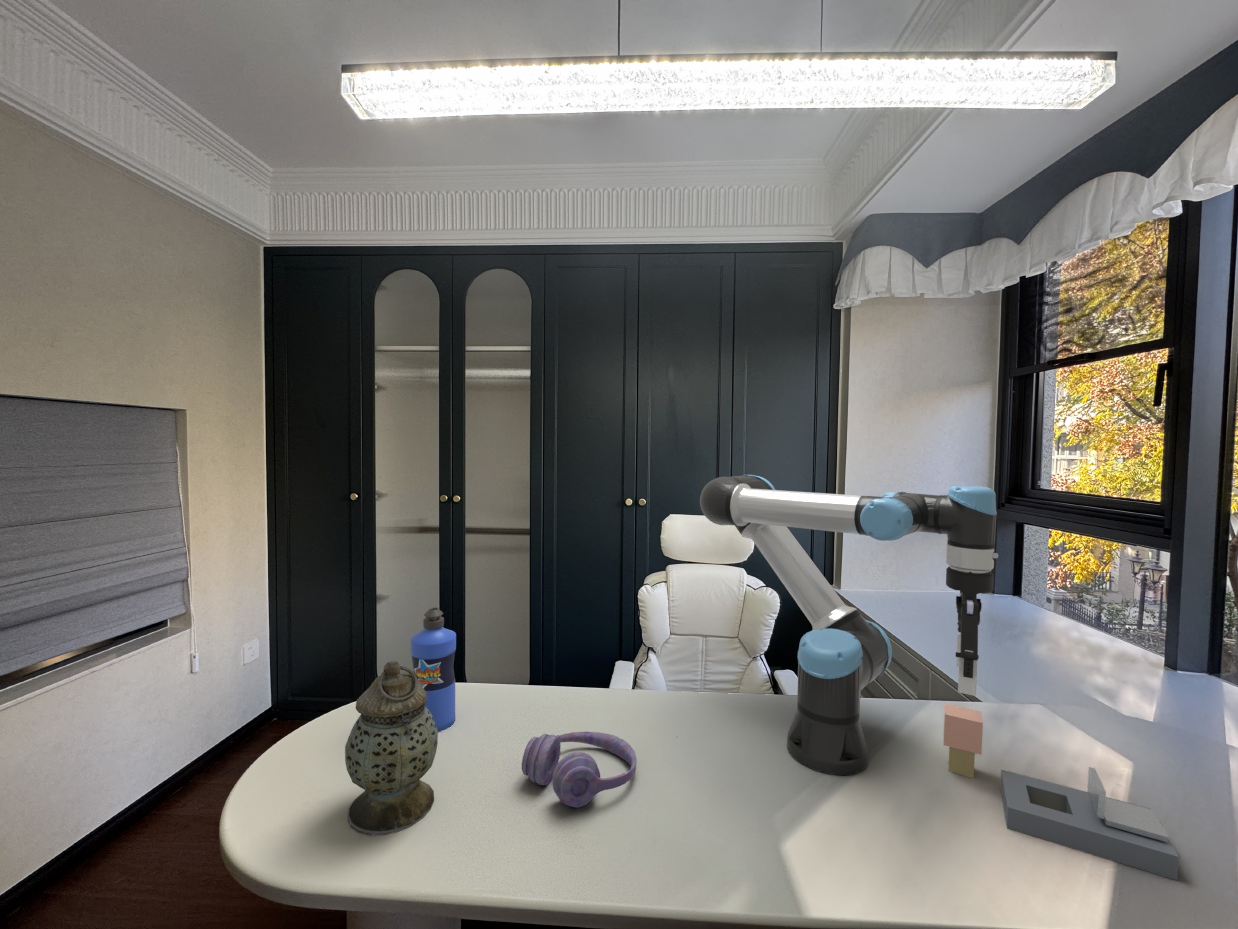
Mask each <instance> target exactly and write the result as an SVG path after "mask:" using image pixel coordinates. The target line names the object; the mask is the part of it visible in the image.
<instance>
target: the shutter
mask: <svg viewBox="0 0 1238 929" xmlns="http://www.w3.org/2000/svg"><path fill="white" fill-rule="evenodd" d="M1087 775H1088V776H1087V791H1086V792H1087V793H1088V796H1089V798H1090V800H1091V803H1092V805H1093V808H1094V810H1095V813H1096V815H1097V817H1098V818H1101V819H1103V820H1104V822H1105V824H1106V825H1108V826H1111V827H1115V828H1118V829H1122V830H1126V831H1129V832H1133V833H1136V834H1140V835H1143V836H1147V837H1150V838H1154V839H1157V840H1161V841H1164V842H1168V839H1169V835H1168V834H1167V832H1166V831H1165V829H1164V827H1163V825H1162V824H1161V822H1160V820H1159V818H1158V816H1157V815H1156V813H1155V811H1154V810H1153V809H1152V808H1150V809H1147V808H1148V807H1146V808H1143V807H1144V806H1143V807H1139V806H1140V805H1139V806H1136V805H1137V804H1135V805H1132V804H1133V803H1131V804H1128V803H1129V802H1127V803H1124V802H1125V801H1124V802H1120V801H1121V800H1120V801H1117V800H1118V799H1116V800H1113V799H1114V798H1112V799H1109V798H1110V797H1108V798H1106V797H1107V796H1106V794H1107V791H1106V789H1105V787H1104V785H1103V782H1102V780H1101V778H1100V776H1099V774H1098V771H1097V769H1096V768H1094V767H1090V766H1088V774H1087ZM1151 809H1152V810H1151Z"/></svg>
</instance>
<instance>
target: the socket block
mask: <svg viewBox="0 0 1238 929" xmlns="http://www.w3.org/2000/svg"><path fill="white" fill-rule="evenodd" d="M999 788H1000V793H1001V794H1000V795H1001V801H1002V808H1003V813H1004V819H1005V826H1006V829H1009V830H1011V831H1014V832H1018V833H1021V834H1025V835H1028V836H1031V837H1035V838H1038V839H1042V840H1044V841H1048V842H1051V843H1055V844H1057V845H1060V846H1064V847H1067V848H1071V849H1072V850H1073V849H1074V850H1077V851H1080V852H1084V853H1085V854H1086V853H1087V854H1090V855H1093V856H1097V857H1100V858H1103V859H1107V860H1110V861H1113V862H1116V863H1120V864H1123V865H1126V866H1129V867H1133V868H1134V869H1135V868H1136V869H1139V870H1142V871H1146V872H1149V873H1152V874H1154V875H1159V876H1160V877H1161V876H1162V877H1165V878H1168V879H1172V880H1175V881H1178V873H1179V862H1180V861H1179V858H1180V856H1179V855H1178V853H1177V851H1176V849H1175V847H1174V846H1173V844H1172V842H1171V840H1170V839H1169V838H1168V842H1164V841H1161V840H1157V839H1154V838H1150V837H1147V836H1143V835H1140V834H1136V833H1133V832H1129V831H1126V830H1122V829H1118V828H1115V827H1111V826H1108V825H1106V824H1105V822H1104V820H1103V819H1101V818H1098V817H1097V815H1096V813H1095V810H1094V808H1093V805H1092V803H1091V800H1090V798H1089V796H1088V793H1087V791H1085V790H1081V789H1078V788H1074V787H1069V786H1066V785H1062V784H1059V783H1056V782H1055V783H1054V782H1052V781H1051V782H1050V781H1047V780H1044V779H1043V780H1042V779H1040V778H1036V777H1031V776H1028V775H1024V774H1020V773H1017V772H1013V771H1009V770H1005V769H1000V787H999ZM1106 798H1109V799H1113V800H1117V801H1120V802H1124V803H1128V804H1132V805H1136V806H1139V807H1143V808H1147V809H1151V810H1153V809H1152V808H1150V807H1146V806H1142V805H1137V804H1134V803H1131V802H1127V801H1123V800H1119V799H1116V798H1112V797H1108V796H1106Z"/></svg>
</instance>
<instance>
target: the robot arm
mask: <svg viewBox="0 0 1238 929" xmlns="http://www.w3.org/2000/svg"><path fill="white" fill-rule="evenodd" d="M996 499H997V494H996V492H995V490H993V489H992V488H990V487H986V486H975V485H953V486H951V487H949V491H948V492H947V494H943V495H942V494H941V495H938V494H926V493H914V492H911V493H910V492H905V491H895V492H894V491H893V492H892V491H889V492H885V493H884V494H883V496H873V495H859V494H858V495H854V494H844V493H843V494H842V493H841V494H839V493H827V492H826V493H824V492H813V491H812V492H811V491H810V492H808V491H797V490H796V491H794V490H781V489H779V490H778V489H775V486H774V484H772V483H771V482H770V481H769V480H768V479H766V478H765V477H762V476H759V475H754V474H743V475H737V476H720V477H716V478H714V479H712V480H710V481H709V482H708V483H707V484H705V486H703V489H702V491H701V493H700V498H699V506H700V510H701V511H702V514H703V515H704V516H705V518H706V519H707V520H708V521H709V522H712V523H713V524H716V525H718V526H734V527H735V528H736V529H737V531H738V532H739V534H740V535H741V536H742V537H743V538H746V539H750V540H752V541H753V543H754V545H755V546H756V547H757V549H758V551H759V552H760V553H761V555H762V556H763V557H764V559H765V560H766V562H767V563H768V564H769V566H770V568H772V570H773V572H774V574H775V575H776V576H777V578H778V579H779V580H780V582H781V583H782V584H783V586H784V587H785V588H786V590H787V591H788V593H789V594H790V595H791V598H793V600H794V601H795V603H796V604H797V606H798V607H799V609H800V610H801V611H802V613H803V614H804V616H805V617H806V618H807V620H808V621H809V623H810V624H811V627H812V630H810V631H808V632H806V633H805V634H803V636H802V637H801V638H800V641H799V646H798V650H797V664H798V666H797V702H796V703H797V704H796V711H795V714H794V716H793V718H792V721H791V724H790V726H789V729H788V731H787V737H786V738H787V739H786V740H787V741H786V748H787V750H788V752H789V754H790V755H791V756H792V757H793V759H794V760H796V761H798V762H799V763H800V764H802V765H804V766H805V767H807V768H810V769H812V770H814V771H817V772H821V773H823V774H824V773H825V774H830V775H839V776H840V775H841V776H848V775H854V774H857V773H861V772H862V771H864V770H865V769H866V767H867V766H868V762H869V750H868V749H869V748H868V745H867V742H866V739H865V738H866V737H865V735H864V732H863V728H862V724H861V721H860V712H861V710H860V709H861V692H862V690H863V689H865V687H867V686H868V685H869V684H870V683H872V682H873V681H875V680H876V679H878V678H880V677H881V676H883V674H884V673H885V672H886V670H887V669H888V667H889V666H890V664H891V662H892V657H893V648H892V643H891V641H890V638H889V636H888V635H887V633H886V632H885V631H884V630H883V629H882V628H881V627H880V626H879V625H878V624H877V623H875V622H872V621H869V620H868V619H865V618H864V616H863V615H862V614H861V613H860V611H859V610H858V609H857V608H856V607H852V606H848V605H846V604H845V603H844V601H843V600H842V599H841V597H840V596H839V595H838V593H837V592H836V591H835V589H834V588H833V587H832V585H831V584H830V583H829V581H828V580H827V579H826V577H825V576H824V574H822V572H821V570H820V569H819V568H818V567H817V566H816V564H815V563H814V562H813V560H812V559H811V557H810V556H809V555H808V553H807V552H806V550H805V549H804V548H803V547H802V546H801V544H800V543H799V542H798V540H797V539H796V537H795V536H794V535H793V534H792V532H791V530H790V529H789V528H797V529H807V530H816V531H817V530H818V531H825V532H833V533H835V532H836V533H842V534H843V533H844V534H853V535H854V534H855V535H860V536H868V537H871V538H872V539H874V540H877V541H881V542H882V541H883V542H884V541H890V542H891V541H897V540H899V539H901V538H903V537H905V536H907V535H910V534H913V533H916V532H918V533H919V532H922V533H929V534H930V533H931V534H939V535H946V537H947V541H946V542H947V543H946V560H945V562H946V564H947V565H948V567H947V568H946V570H945V571H946V572H945V573H946V574H945V585H946V587H948V588H949V589H951V590H954V591H959V595H956V596H955V605H956V606H955V608H956V613H957V624H956V625H957V632H958V633H957V640H956V641H957V642H956V643H957V644H956V645H957V646H956V652H955V658H956V667H958V680H957V682H958V684H957V693H960V694H965V695H969V696H974V697H976V696H977V678H978V660H979V654H978V653H979V646H978V645H979V625H980V623H981V612H982V608H983V607H982V605H983V604H982V602H981V598H977V595H978V594H982V595H984V594H990V593H992V592H993V591H994V580H995V579H994V576H995V575H994V573H993V571H992V570H993V569H994V567H995V566H994V565H995V560H994V559H998V558H999V553H997V552H995V544H996V543H995V542H996V530H997V529H996V526H997V515H998V512H997V504H996V503H997V501H996ZM788 527H789V528H788Z"/></svg>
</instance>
